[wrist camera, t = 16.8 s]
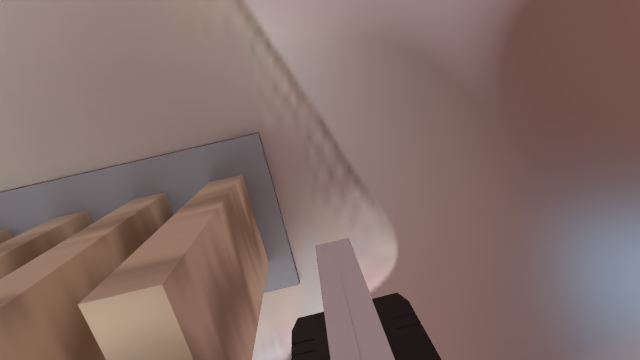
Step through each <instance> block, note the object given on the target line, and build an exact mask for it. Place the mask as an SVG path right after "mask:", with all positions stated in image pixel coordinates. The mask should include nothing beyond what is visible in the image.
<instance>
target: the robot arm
mask: <svg viewBox="0 0 640 360" xmlns="http://www.w3.org/2000/svg"><path fill="white" fill-rule="evenodd" d="M315 247H316V254H317V262H318V269H319V277H320V285H321V292H322V300H323V307H324V312H321V313H317V314H313V315H309V316H305V317H301V318H298V319H297V321H296V324H295V326H294V328H293V330H292V358H291V360H441V358H440V356H439V355H438V353H437V351H436V349H435V347H434V346H433V344H432V342H431V340H430V339H429V337H428V335H427V333H426V331H425V330H424V328H423V326H422V325H421V323H420V321H419V319H418V317H417V315H416V314H415V312H414V310H413V308H412V306H411V305H410V303H409V301H408V300H406V299H405V298H404V297H402V296H401V295H399V294H398V293H395V294H390V295H386V296H382V297H378V298H374V299H371V295H370V293H369V290H368V288H367V285H366V282H365V280H364V277H363V274H362V272H361V269H360V267H359V264H358V261H357V259H356V256H355V253H354V251H353V248H352V246H351V243H350V240H349V238H346V239H342V240H338V241H334V242H329V243H325V244H321V245H317V246H315Z"/></svg>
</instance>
